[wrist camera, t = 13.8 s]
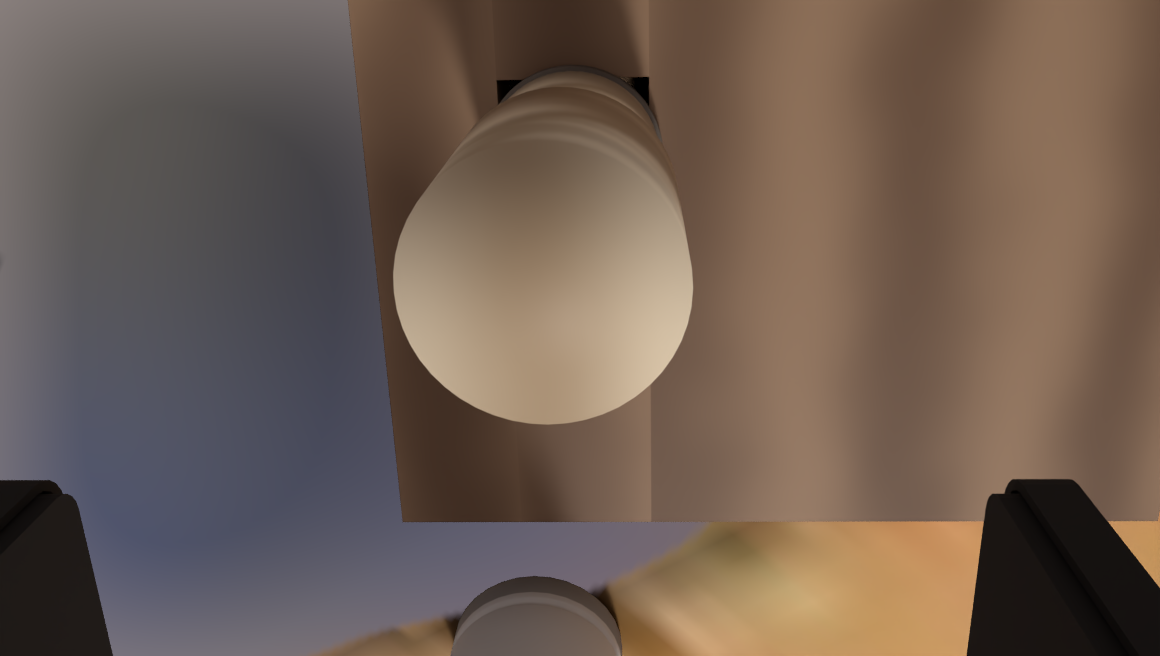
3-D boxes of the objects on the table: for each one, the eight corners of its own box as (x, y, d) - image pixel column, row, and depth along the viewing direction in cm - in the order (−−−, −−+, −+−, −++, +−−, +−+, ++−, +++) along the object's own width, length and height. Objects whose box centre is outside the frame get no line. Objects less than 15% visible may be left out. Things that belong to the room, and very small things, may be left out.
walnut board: (1218, -95, 29) (1280, -96, 26) (1116, 473, 36) (1157, 520, 33) (367, -69, 30) (340, -67, 28) (420, 476, 37) (402, 522, 34)
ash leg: (667, 42, 31) (694, 137, 18) (667, 221, 33) (691, 423, 20) (484, 47, 31) (379, 143, 18) (494, 224, 33) (407, 425, 20)
